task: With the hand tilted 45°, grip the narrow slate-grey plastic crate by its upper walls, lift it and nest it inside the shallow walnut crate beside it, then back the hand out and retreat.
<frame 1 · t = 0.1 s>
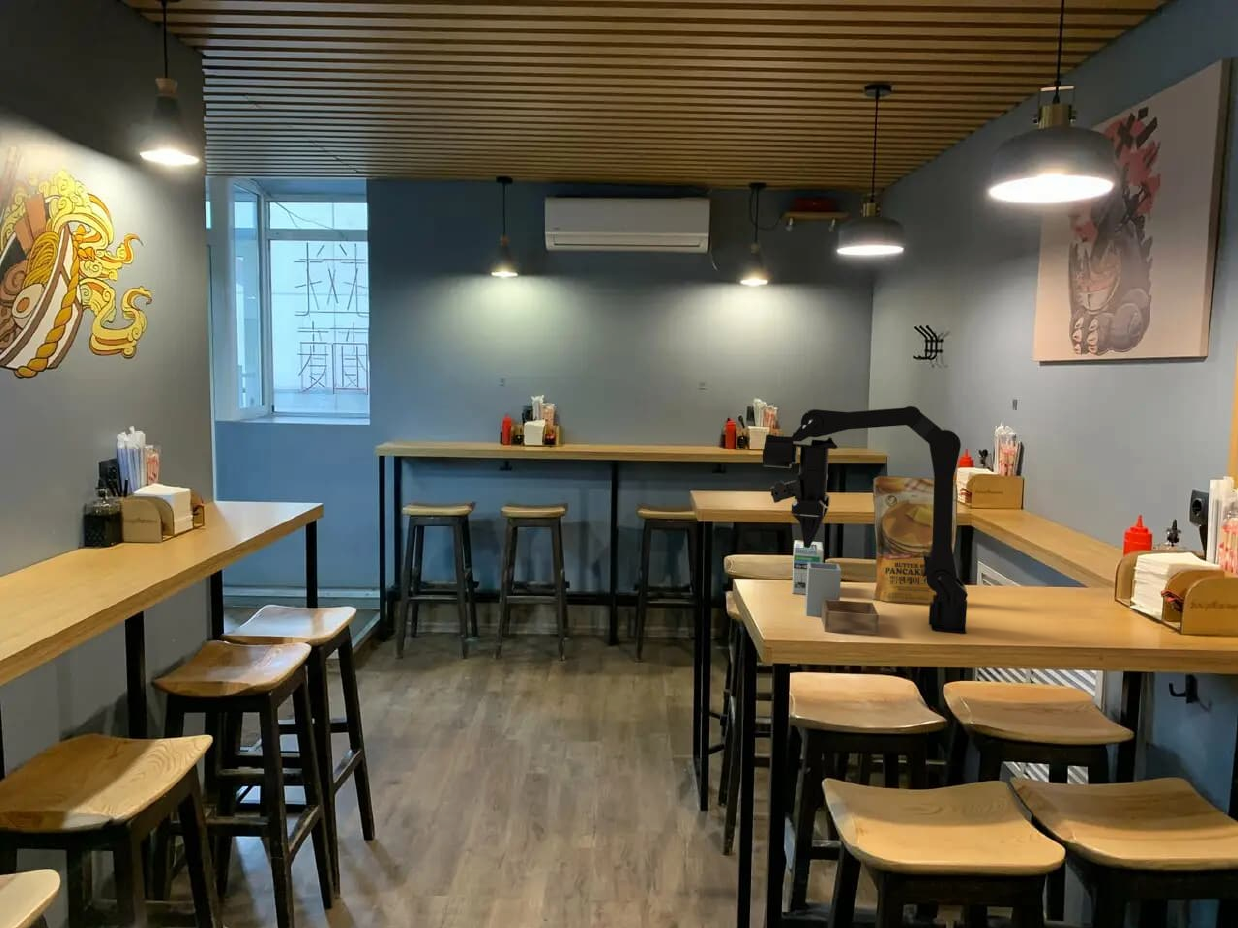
hand: (809, 544, 186), 15 cm above the table, tool pointing down, fingers open, 9 cm apart
pancake mix bag: (909, 601, 202), on the table
grey crate: (821, 612, 189), on the table
light bulb box: (806, 590, 209), on the table
walnut crate: (848, 626, 178), on the table
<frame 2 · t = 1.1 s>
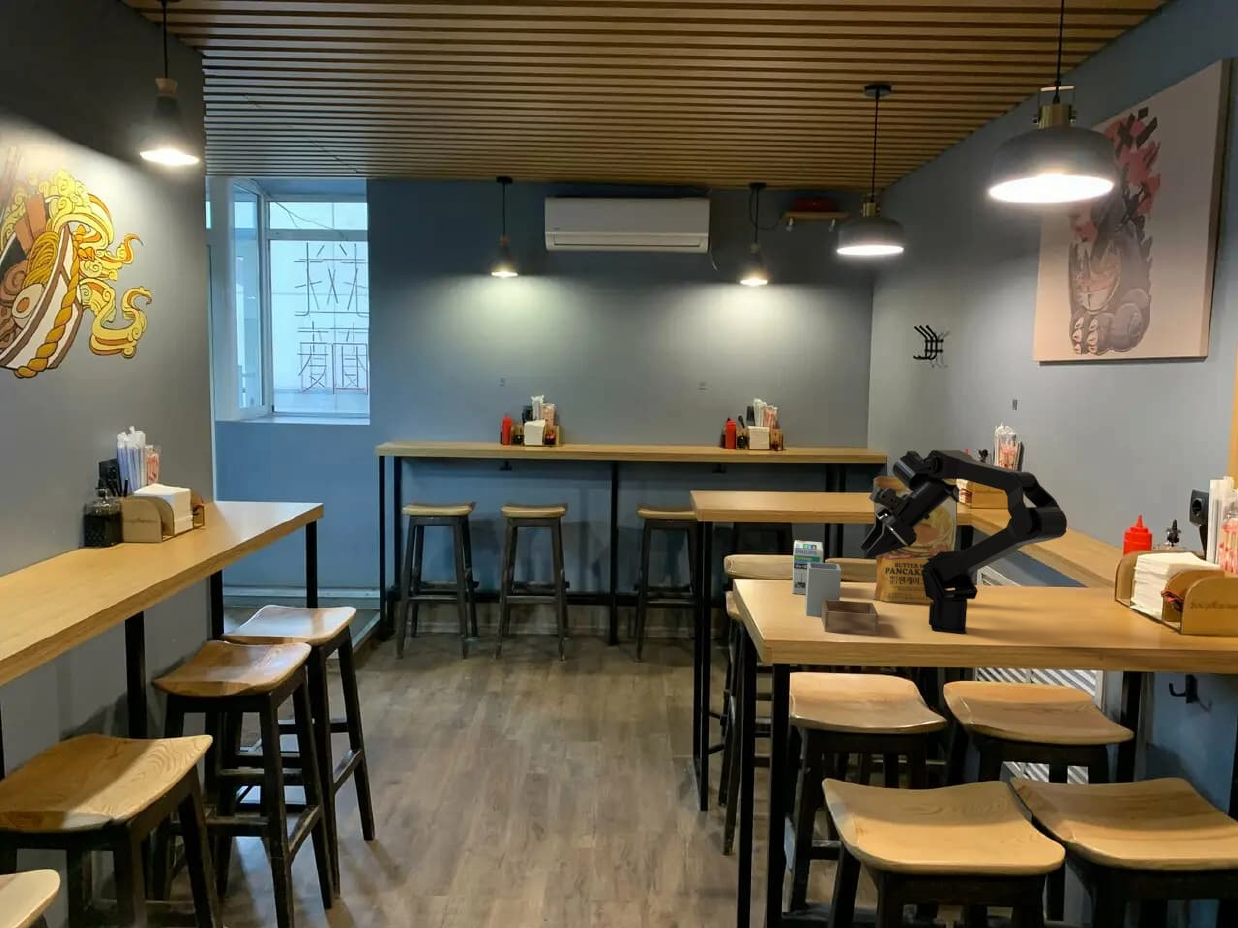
hand: (864, 552, 186), 13 cm above the table, tool tilted 45°, fingers open, 9 cm apart
nothing on the table moved.
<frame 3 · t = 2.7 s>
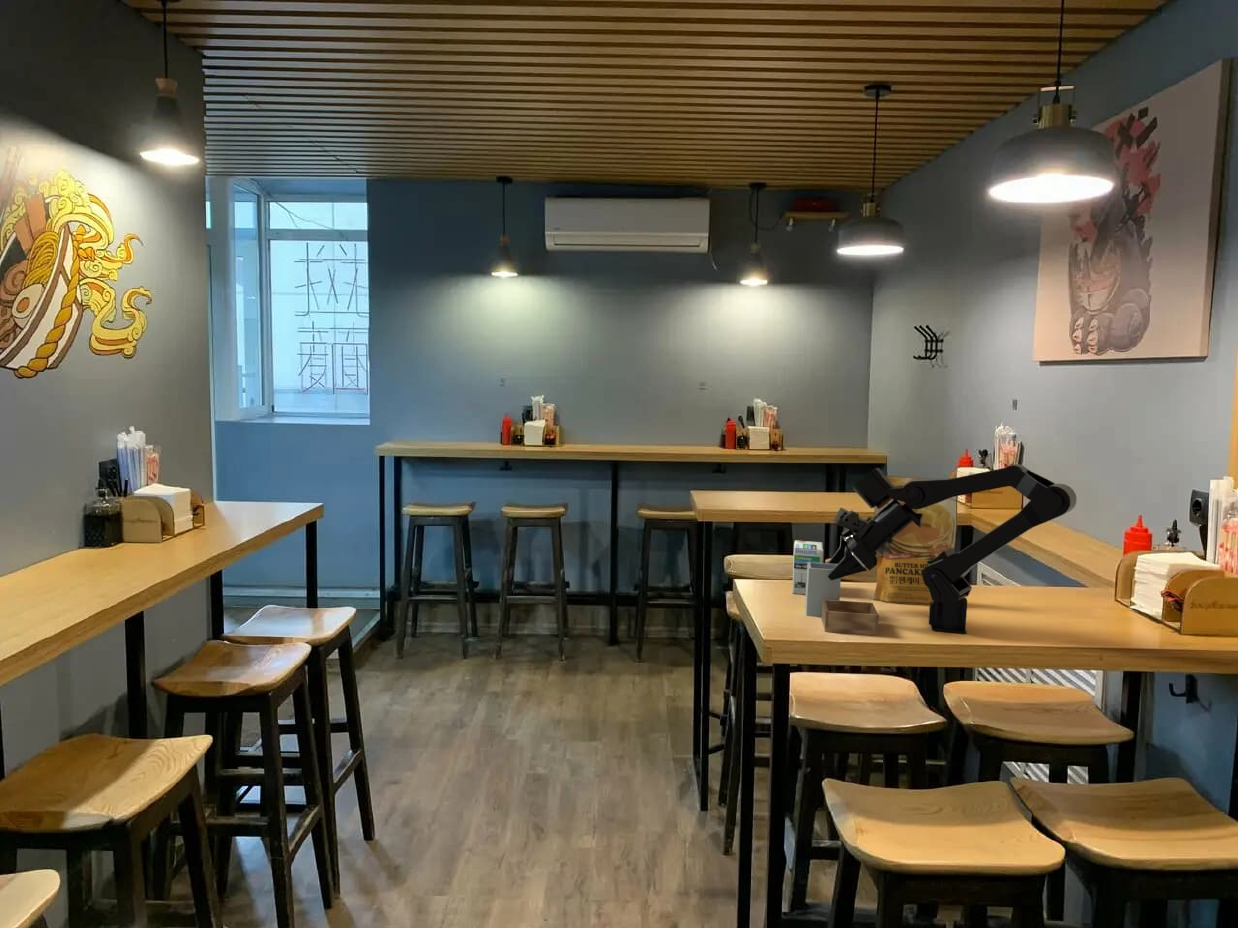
hand: (827, 573, 188), 8 cm above the table, tool tilted 45°, fingers open, 9 cm apart
nothing on the table moved.
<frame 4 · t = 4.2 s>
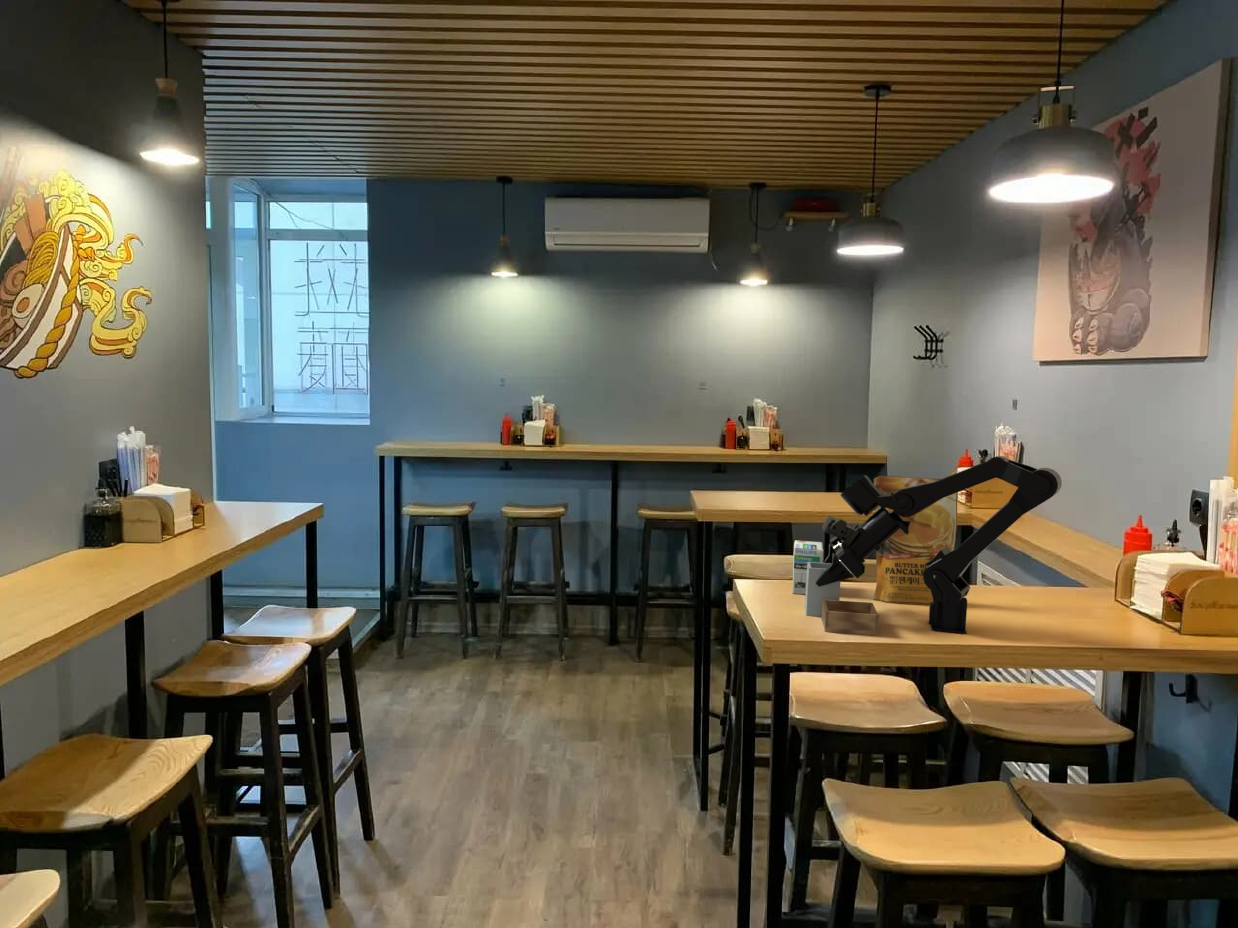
hand: (816, 581, 188), 7 cm above the table, tool tilted 45°, fingers closed on grey crate, 6 cm apart
grey crate: (821, 612, 189), on the table, touching gripper
everything else where it was.
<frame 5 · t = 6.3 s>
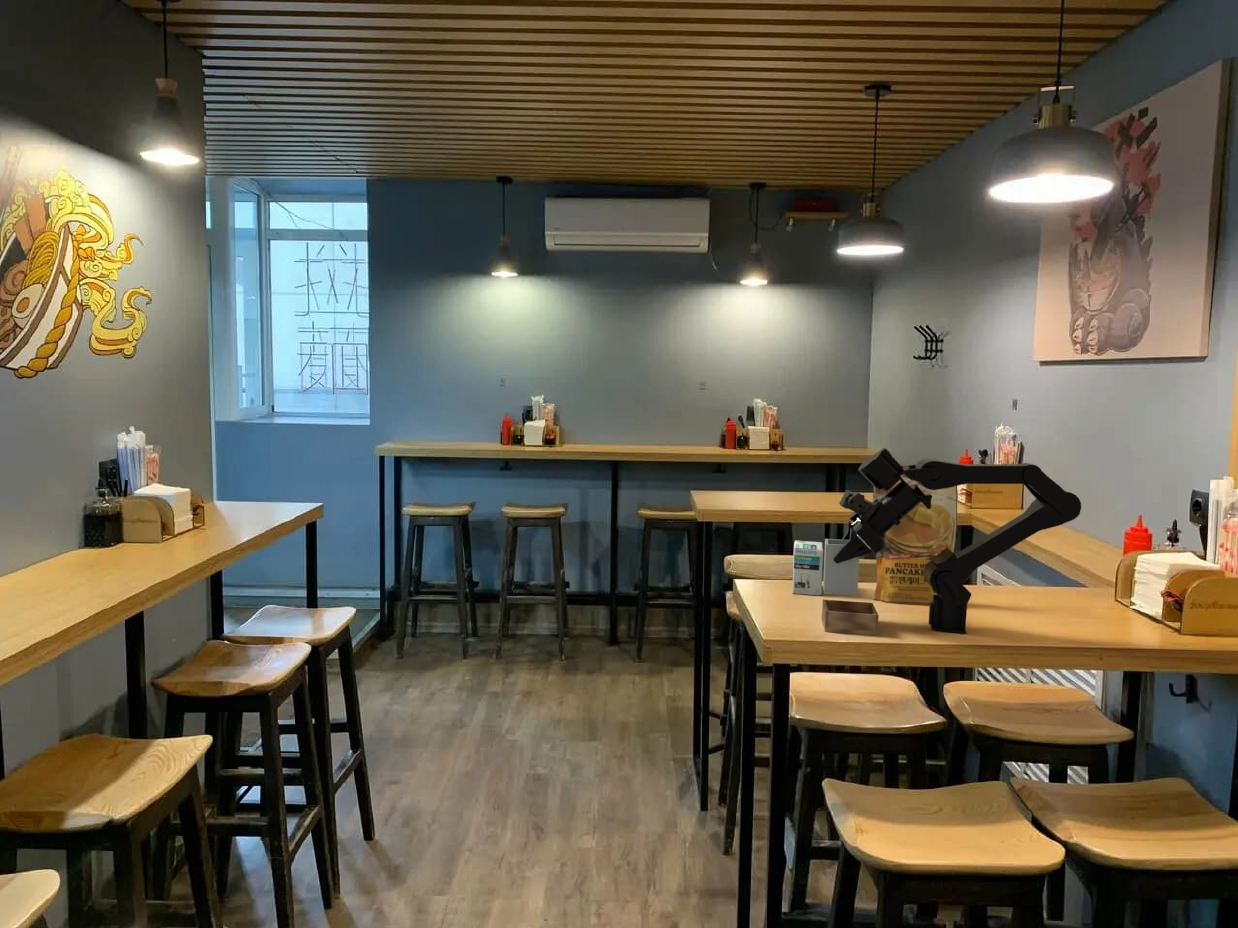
hand: (834, 558, 182), 13 cm above the table, tool tilted 45°, fingers closed on grey crate, 6 cm apart
grey crate: (840, 590, 182), point 6 cm above the table, touching gripper
everything else where it was.
when the fingers open (9 cm above the table, at t = 8.6 s): grey crate drops 1 cm, resting on walnut crate.
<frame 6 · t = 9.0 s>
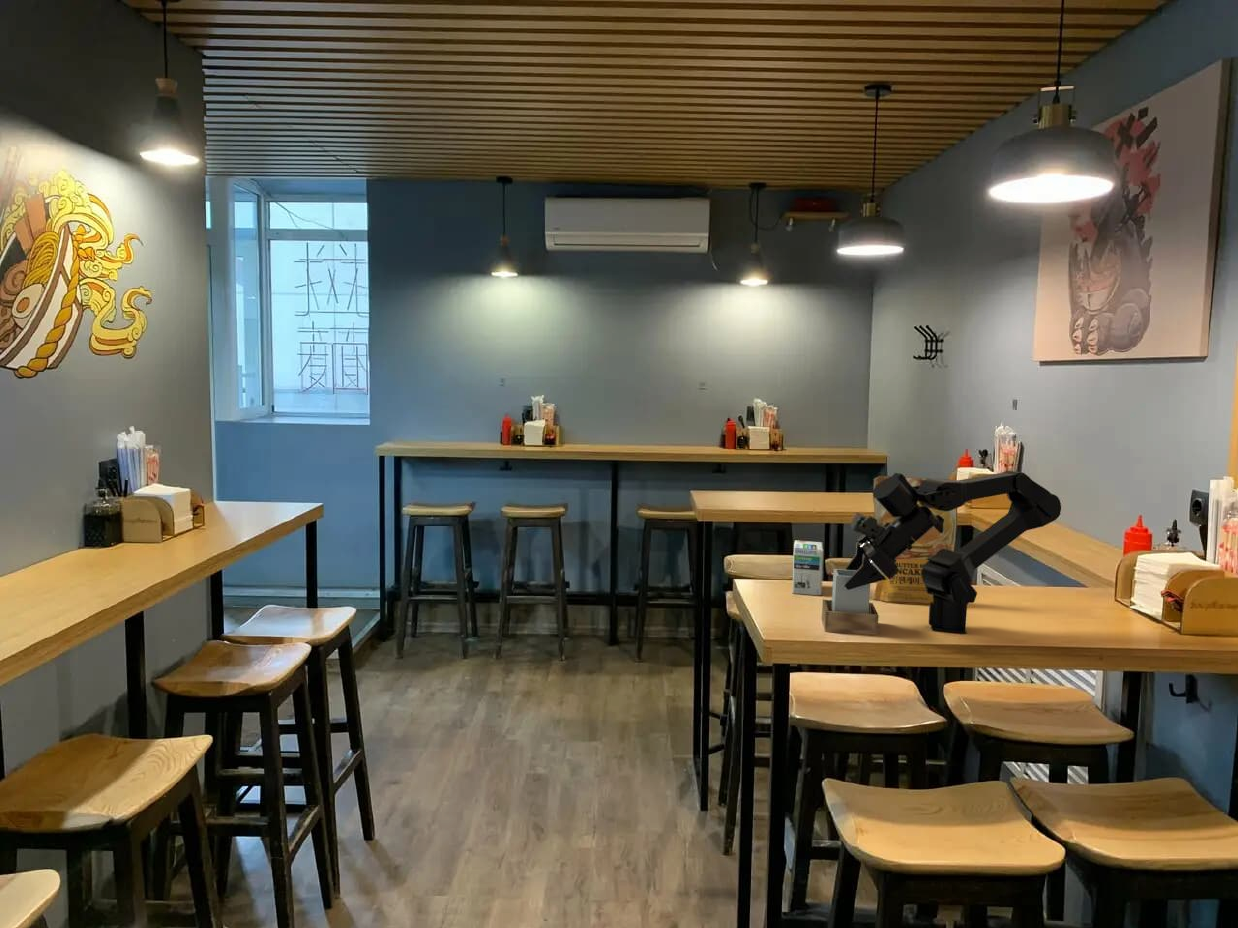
hand: (844, 582, 178), 9 cm above the table, tool tilted 45°, fingers open, 9 cm apart
grey crate: (848, 622, 178), point 1 cm above the table, touching walnut crate
everything else where it was.
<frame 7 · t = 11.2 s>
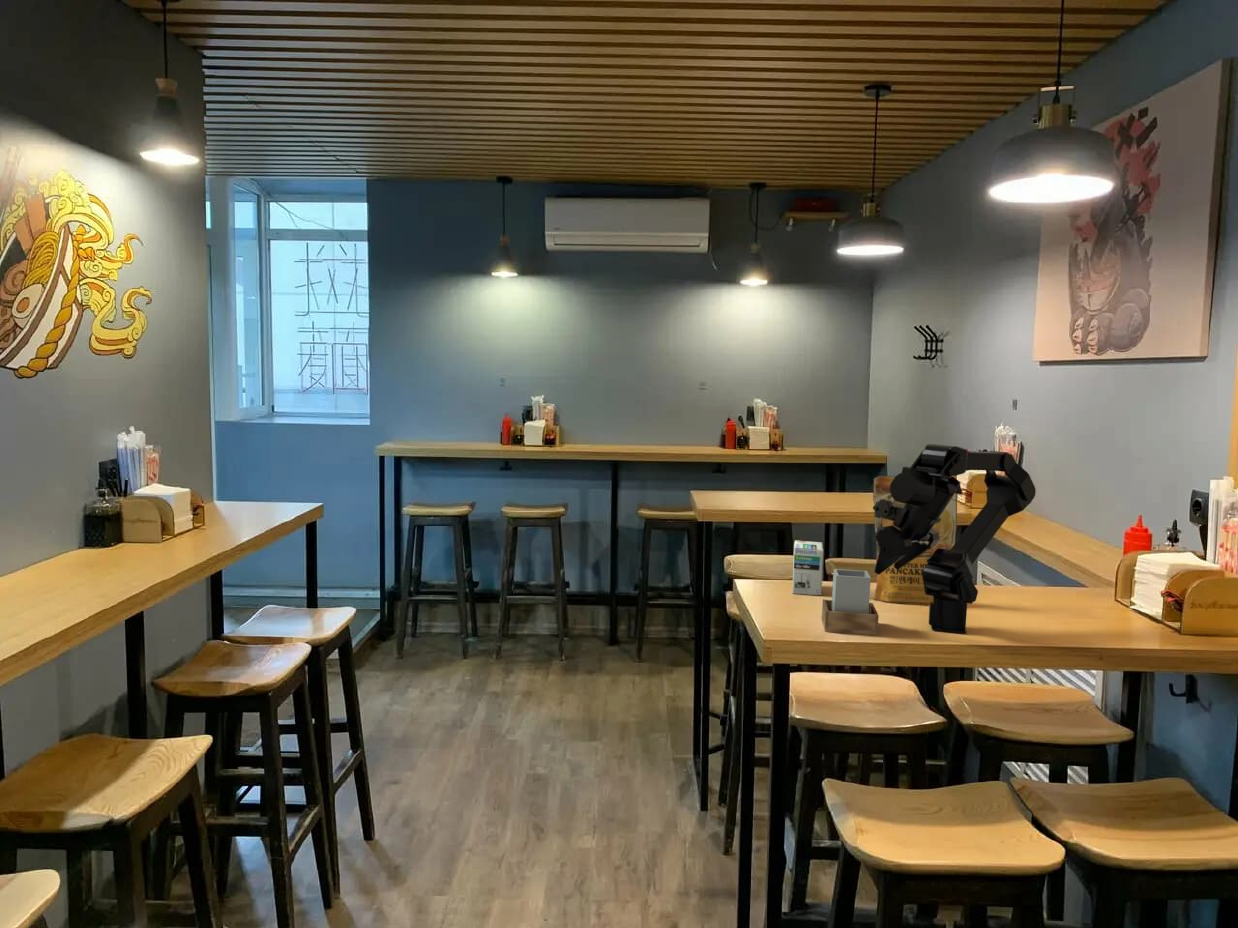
hand: (886, 570, 180), 11 cm above the table, tool tilted 30°, fingers open, 9 cm apart
nothing on the table moved.
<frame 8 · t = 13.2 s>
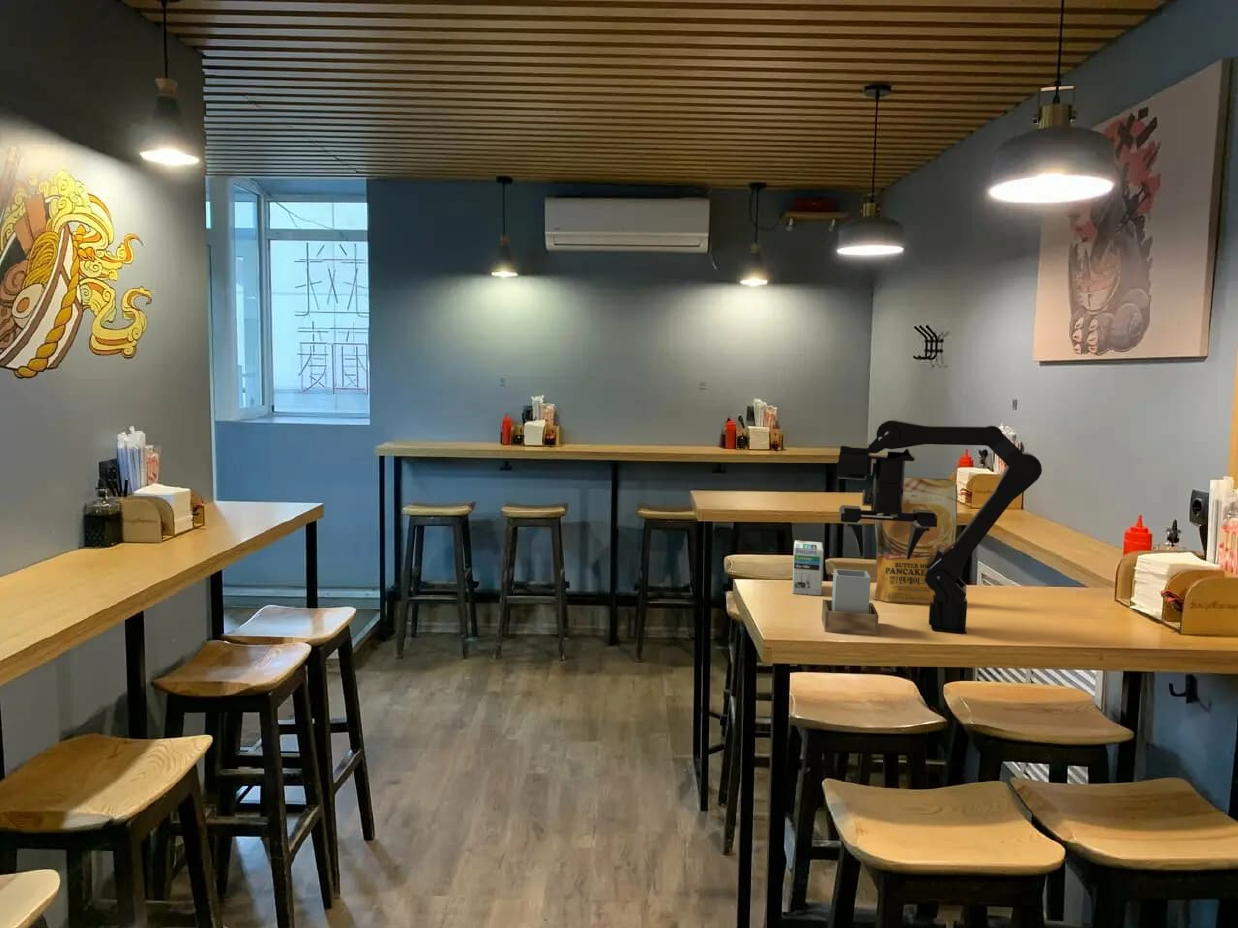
hand: (884, 557, 183), 13 cm above the table, tool pointing down, fingers open, 9 cm apart
nothing on the table moved.
at the end: grey crate 0.0 cm off-centre on the walnut crate, point 0.8 cm above the walnut crate's base; grey crate tilted 0°; the gripper is holding nothing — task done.
